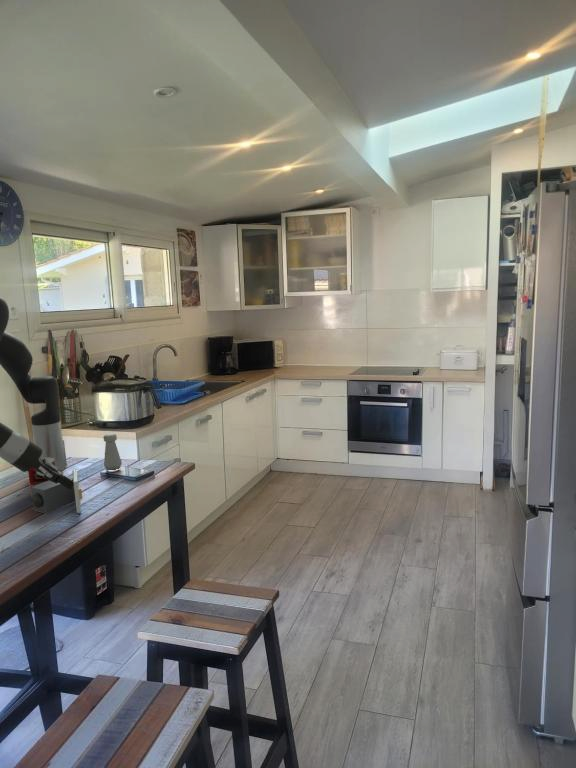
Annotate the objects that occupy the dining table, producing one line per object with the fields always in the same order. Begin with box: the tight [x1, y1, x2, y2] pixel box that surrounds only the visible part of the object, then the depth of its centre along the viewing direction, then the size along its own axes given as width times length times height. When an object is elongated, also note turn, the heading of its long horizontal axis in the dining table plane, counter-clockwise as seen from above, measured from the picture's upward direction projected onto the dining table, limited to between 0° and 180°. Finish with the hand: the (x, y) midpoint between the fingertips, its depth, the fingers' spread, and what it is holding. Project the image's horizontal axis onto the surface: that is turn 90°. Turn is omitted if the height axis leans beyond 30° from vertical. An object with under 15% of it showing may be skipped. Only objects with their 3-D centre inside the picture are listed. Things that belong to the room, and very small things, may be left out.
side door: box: [74, 470, 83, 514], centre depth 160 cm, size 10×2×9 cm, turn 21°
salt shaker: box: [103, 432, 122, 471], centre depth 192 cm, size 6×6×13 cm
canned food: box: [27, 457, 55, 496], centre depth 171 cm, size 8×8×11 cm
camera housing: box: [30, 469, 77, 515], centre depth 162 cm, size 12×6×9 cm, turn 149°
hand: (72, 485), depth 156 cm, fingers closed
